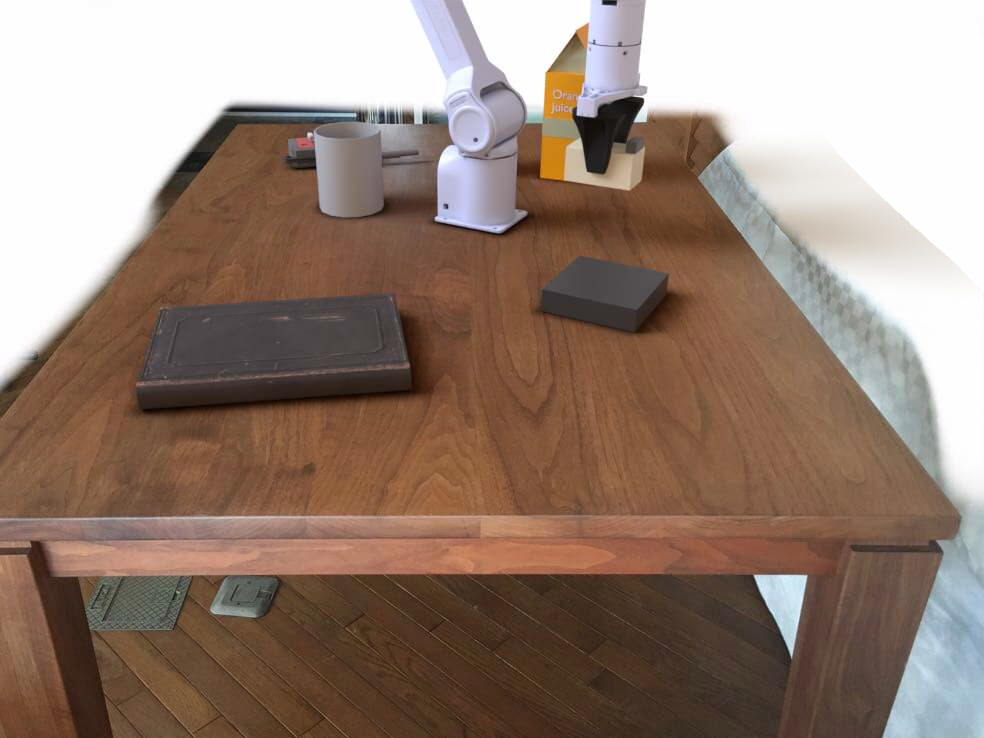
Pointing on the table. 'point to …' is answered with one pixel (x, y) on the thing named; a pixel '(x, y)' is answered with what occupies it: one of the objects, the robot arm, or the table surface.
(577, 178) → the tape dispenser
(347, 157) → the cup
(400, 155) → the walkie-talkie
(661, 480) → the table surface
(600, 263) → the black box
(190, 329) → the hardcover book
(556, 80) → the orange juice
